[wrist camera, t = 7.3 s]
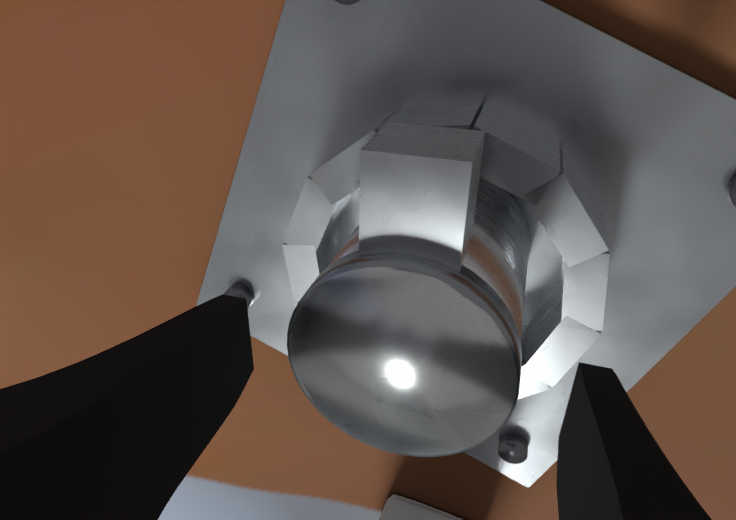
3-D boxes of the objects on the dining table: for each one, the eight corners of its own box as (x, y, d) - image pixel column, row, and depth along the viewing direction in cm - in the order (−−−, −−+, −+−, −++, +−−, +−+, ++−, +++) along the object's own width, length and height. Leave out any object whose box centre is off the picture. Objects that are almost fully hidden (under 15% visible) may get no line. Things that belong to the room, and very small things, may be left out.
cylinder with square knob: (365, 297, 18) (292, 427, 13) (369, 84, 15) (273, 148, 10) (517, 324, 17) (501, 480, 12) (559, 100, 14) (561, 182, 8)
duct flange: (203, 298, 21) (164, 336, 19) (325, -110, 13) (283, -123, 11) (529, 476, 20) (526, 536, 18) (851, 156, 13) (909, 195, 11)
